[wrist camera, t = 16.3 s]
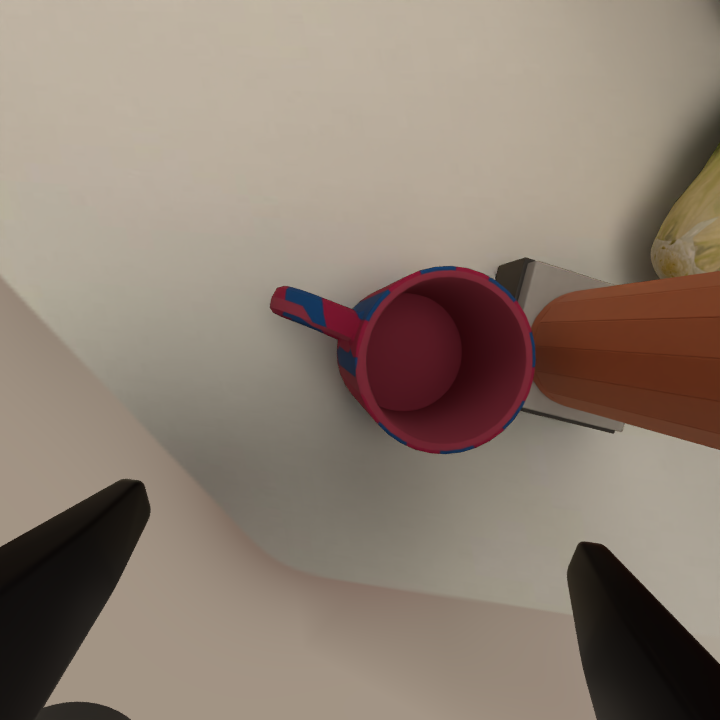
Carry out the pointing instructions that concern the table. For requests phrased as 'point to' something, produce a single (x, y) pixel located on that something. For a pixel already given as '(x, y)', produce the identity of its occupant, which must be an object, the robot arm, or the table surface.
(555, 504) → the table surface
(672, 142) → the table surface
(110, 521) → the robot arm
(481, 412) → the cup
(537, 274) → the scale
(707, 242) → the lettuce
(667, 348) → the pipe
